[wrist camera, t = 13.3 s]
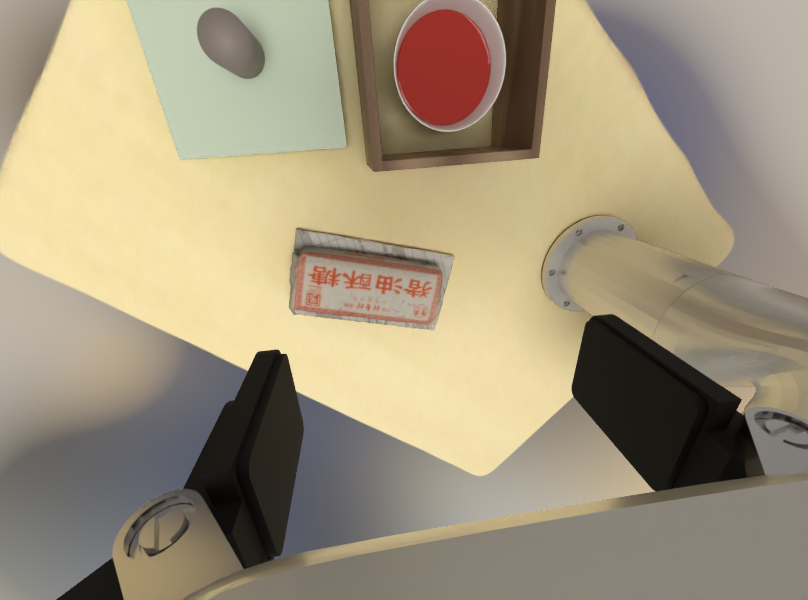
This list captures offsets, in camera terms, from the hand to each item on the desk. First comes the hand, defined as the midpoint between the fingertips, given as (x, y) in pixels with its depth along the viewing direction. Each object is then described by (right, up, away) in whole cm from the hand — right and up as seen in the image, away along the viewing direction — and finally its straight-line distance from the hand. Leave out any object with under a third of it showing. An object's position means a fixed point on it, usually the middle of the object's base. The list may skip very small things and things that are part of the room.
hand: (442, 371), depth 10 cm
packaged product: (-5, +5, +30) cm, 30 cm away
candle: (+1, +23, +21) cm, 31 cm away
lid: (-14, +23, +18) cm, 32 cm away
